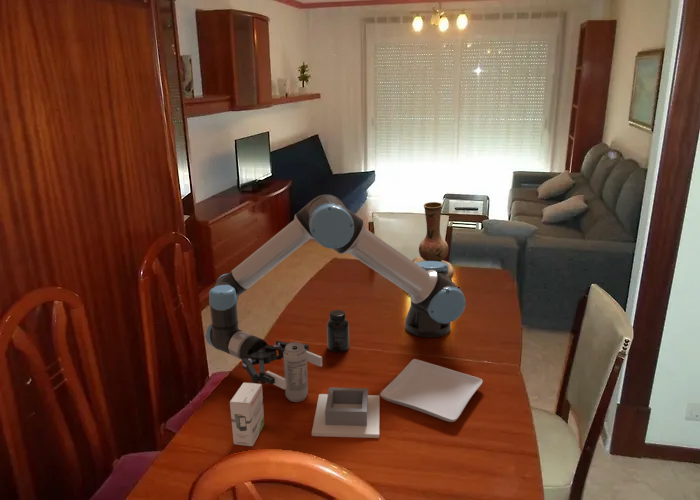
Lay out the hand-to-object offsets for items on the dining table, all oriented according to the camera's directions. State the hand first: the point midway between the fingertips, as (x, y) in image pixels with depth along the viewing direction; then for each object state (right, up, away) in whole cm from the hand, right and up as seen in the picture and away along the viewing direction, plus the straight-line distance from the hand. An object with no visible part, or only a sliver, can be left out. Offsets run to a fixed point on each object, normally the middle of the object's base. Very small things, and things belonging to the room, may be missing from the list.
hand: (304, 372), depth 138 cm
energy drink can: (-2, -8, +5) cm, 9 cm away
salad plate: (+34, -8, +5) cm, 35 cm away
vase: (+44, +17, +76) cm, 89 cm away
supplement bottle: (+8, +1, +30) cm, 31 cm away
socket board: (+11, -10, -4) cm, 16 cm away
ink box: (-12, -13, -10) cm, 20 cm away
